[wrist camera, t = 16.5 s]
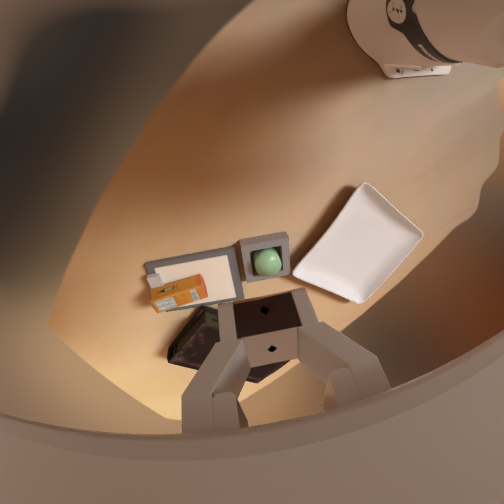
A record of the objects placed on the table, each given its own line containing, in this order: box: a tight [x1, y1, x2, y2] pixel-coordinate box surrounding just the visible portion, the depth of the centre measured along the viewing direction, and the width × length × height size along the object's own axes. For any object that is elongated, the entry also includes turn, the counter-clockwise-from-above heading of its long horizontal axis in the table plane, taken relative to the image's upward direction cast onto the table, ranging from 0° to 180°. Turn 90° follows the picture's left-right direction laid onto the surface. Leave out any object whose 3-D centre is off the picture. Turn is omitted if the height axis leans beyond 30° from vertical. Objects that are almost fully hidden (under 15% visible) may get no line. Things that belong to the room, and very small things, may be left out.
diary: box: [167, 305, 290, 383], centre depth 61 cm, size 19×25×5 cm
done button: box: [253, 247, 282, 277], centre depth 48 cm, size 4×4×3 cm
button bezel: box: [239, 232, 290, 283], centre depth 49 cm, size 8×8×2 cm
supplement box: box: [150, 274, 208, 313], centre depth 48 cm, size 3×3×10 cm
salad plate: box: [292, 182, 424, 304], centre depth 51 cm, size 21×21×3 cm
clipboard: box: [145, 246, 244, 312], centre depth 50 cm, size 16×12×2 cm
